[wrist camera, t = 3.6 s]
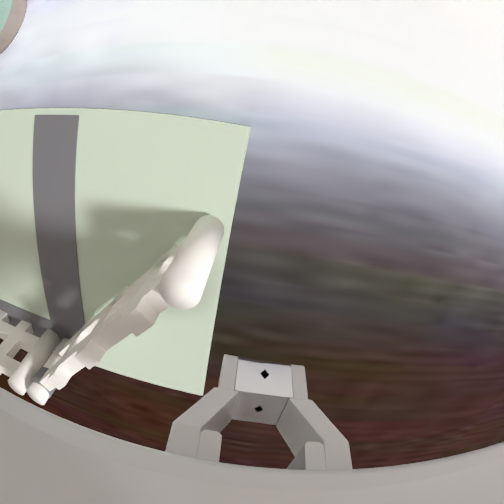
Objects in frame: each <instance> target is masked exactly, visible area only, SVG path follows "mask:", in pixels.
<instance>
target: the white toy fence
mask: <svg viewBox="0 0 504 504" xmlns="http://www.w3.org/2000/svg"><path fill="white" fill-rule="evenodd" d="M223 235H224V226H223V223H222V222H221V221H220V220H219V219H218V218H217V217H215V216H212V215H205V216H202V217H200V218H199V219H198V220H197V221H196V223H195V225H194V226H193V228H192V229H191V231H190V232H189V234H188V236H187V237H186V239H185V240H184V241H183V242H182V243H181V244H179V245H178V246H176V245H175V246H173V247H172V248H171V249H170V250H169V251H167V252H166V253H165V254H164V255H163V256H161V258H160V259H159V261H158V262H157V263H156V264H155V265H154V266H153V267H152V268H150V269H149V270H148V271H147V272H146V273H145V274H143V275H142V276H141V277H140V278H139V279H138V280H136V281H135V282H134V283H133V284H132V285H131V286H128V285H127V286H126V287H125V288H124V289H123V290H122V291H121V292H119V293H118V294H117V296H116V297H115V298H114V300H113V301H112V302H111V303H110V304H109V305H108V306H106V307H105V308H104V309H103V310H102V311H101V312H100V313H99V314H97V315H96V316H95V317H94V316H93V317H91V318H90V319H89V320H88V321H87V322H86V323H85V324H84V326H83V327H82V329H81V330H80V331H79V332H78V333H76V334H75V335H74V336H73V337H72V338H71V339H67V338H64V339H62V341H61V342H60V344H59V345H58V346H57V348H56V349H55V351H54V352H53V353H52V355H51V356H50V358H49V359H48V360H47V362H46V363H45V365H44V366H43V367H41V368H40V370H39V371H38V373H37V374H36V376H35V377H34V379H33V380H32V382H31V386H30V387H29V389H28V390H27V393H28V395H29V396H30V397H31V398H32V399H33V400H34V401H35V402H37V403H38V404H41V405H45V403H46V401H47V400H48V398H50V397H51V396H52V394H53V392H54V390H55V389H56V388H57V389H58V390H60V389H61V388H63V387H64V386H66V384H67V382H68V381H69V379H70V377H71V376H72V375H74V374H75V373H76V372H78V371H79V370H81V369H82V368H84V367H85V366H86V367H87V368H88V369H91V368H92V367H93V366H95V365H96V364H98V363H99V362H100V361H101V359H102V357H103V355H104V354H105V352H106V351H107V350H109V349H110V348H112V347H113V346H114V345H116V344H117V343H119V342H120V341H121V340H123V339H124V338H126V337H127V336H128V335H130V334H131V333H133V334H134V335H135V336H136V337H137V336H139V335H140V334H142V333H143V332H145V331H146V330H148V329H149V328H150V327H152V326H153V325H154V324H155V321H156V319H157V317H158V315H159V313H161V312H162V311H164V310H165V309H167V308H168V307H169V306H172V307H174V308H177V309H190V308H193V307H195V306H196V305H197V304H198V303H199V301H200V299H201V297H202V294H203V291H204V288H205V285H206V282H207V279H208V277H209V274H210V271H211V268H212V265H213V262H214V260H215V257H216V254H217V251H218V248H219V246H220V243H221V240H222V237H223Z"/></svg>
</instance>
